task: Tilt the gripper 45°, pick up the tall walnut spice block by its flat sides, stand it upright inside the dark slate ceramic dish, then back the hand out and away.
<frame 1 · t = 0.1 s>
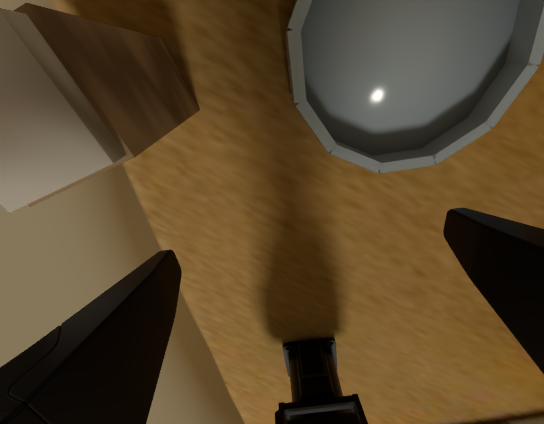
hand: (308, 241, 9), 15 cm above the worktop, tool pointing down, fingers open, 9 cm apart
slate dish: (400, 49, 19), on the worktop
walnut spice block: (152, 91, 20), on the worktop
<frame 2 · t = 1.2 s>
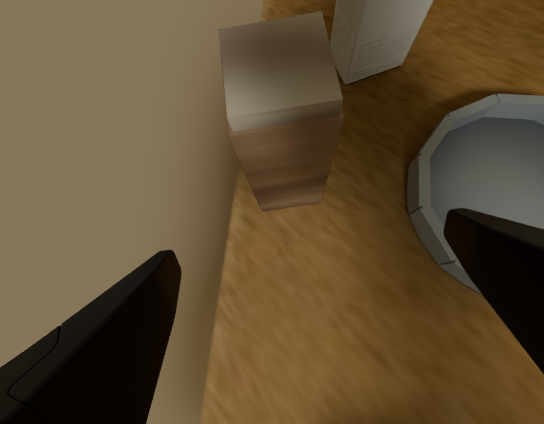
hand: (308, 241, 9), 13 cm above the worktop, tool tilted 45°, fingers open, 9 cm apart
slate dish: (510, 201, 22), on the worktop
skincare box: (363, 63, 27), on the worktop
walnut spice block: (286, 180, 24), on the worktop
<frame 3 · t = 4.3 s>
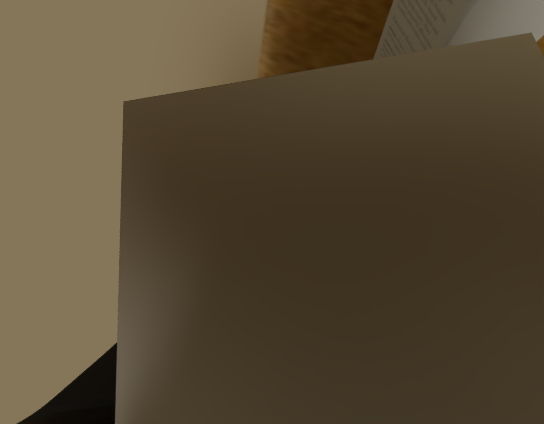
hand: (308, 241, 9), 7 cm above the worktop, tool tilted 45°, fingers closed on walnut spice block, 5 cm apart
skincare box: (418, 94, 18), on the worktop
walnut spice block: (306, 285, 15), on the worktop, touching gripper
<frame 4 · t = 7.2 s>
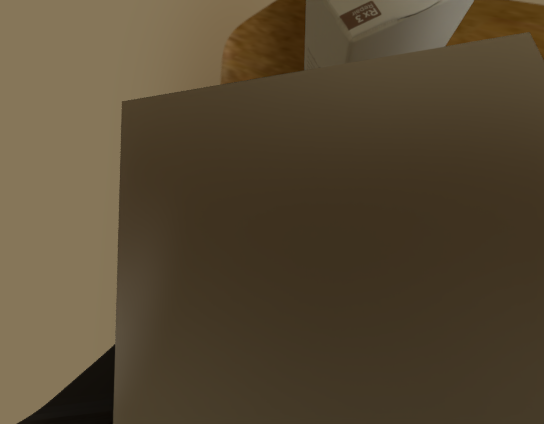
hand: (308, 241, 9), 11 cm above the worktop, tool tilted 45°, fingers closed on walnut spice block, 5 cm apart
skincare box: (343, 134, 23), on the worktop
walnut spice block: (306, 285, 15), point 5 cm above the worktop, touching gripper
when the fingers open (8 cm above the worktop, at t = 10.5 s): walnut spice block drops 1 cm, resting on slate dish.
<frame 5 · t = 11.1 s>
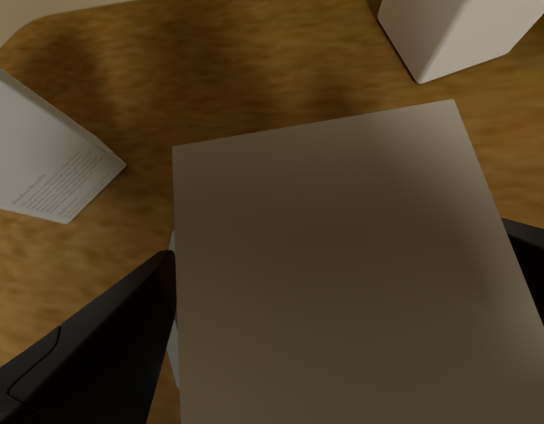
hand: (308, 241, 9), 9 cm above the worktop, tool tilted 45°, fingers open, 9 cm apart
slate dish: (305, 285, 17), on the worktop
skincare box: (84, 182, 20), on the worktop
medicine bottle: (436, 38, 21), on the worktop
walnut spice block: (305, 285, 16), point 1 cm above the worktop, touching slate dish
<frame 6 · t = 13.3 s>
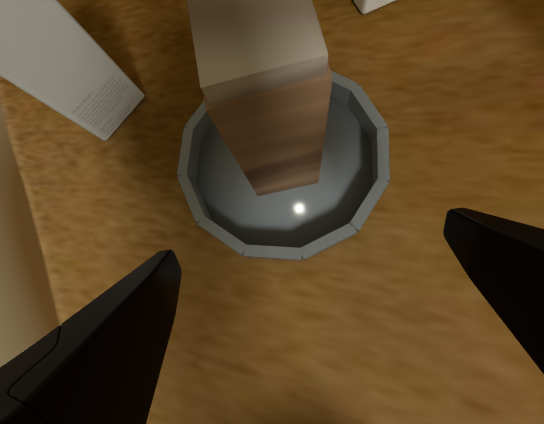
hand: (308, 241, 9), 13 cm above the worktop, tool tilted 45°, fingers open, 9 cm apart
slate dish: (282, 164, 23), on the worktop
skincare box: (114, 112, 27), on the worktop
walnut spice block: (281, 161, 23), point 1 cm above the worktop, touching slate dish
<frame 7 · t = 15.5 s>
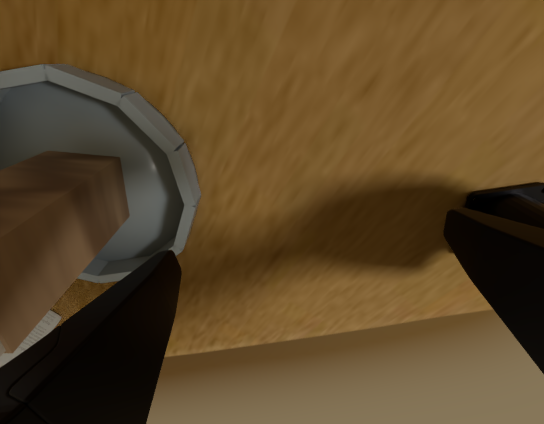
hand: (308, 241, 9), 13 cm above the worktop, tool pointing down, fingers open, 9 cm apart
slate dish: (95, 182, 21), on the worktop
skincare box: (29, 307, 28), on the worktop
walnut spice block: (91, 185, 21), point 1 cm above the worktop, touching slate dish
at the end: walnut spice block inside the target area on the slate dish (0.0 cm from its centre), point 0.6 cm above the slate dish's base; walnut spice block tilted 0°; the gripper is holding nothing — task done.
